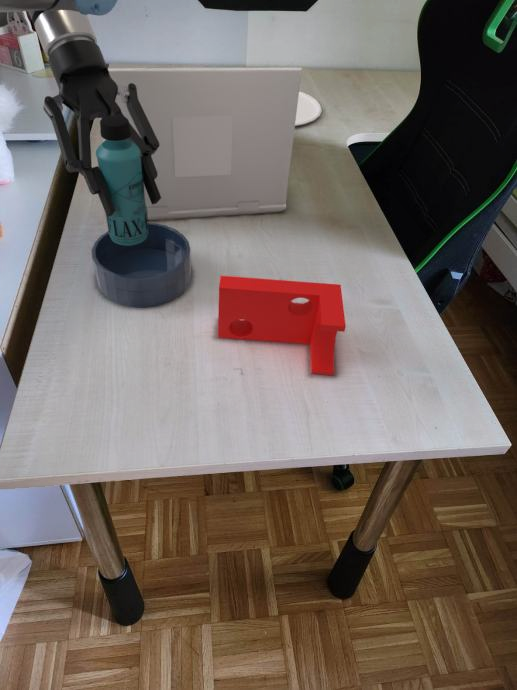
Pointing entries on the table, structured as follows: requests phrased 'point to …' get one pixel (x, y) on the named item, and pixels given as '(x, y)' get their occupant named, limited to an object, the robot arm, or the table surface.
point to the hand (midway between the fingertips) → (134, 207)
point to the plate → (307, 109)
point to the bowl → (143, 267)
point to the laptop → (217, 137)
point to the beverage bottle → (123, 181)
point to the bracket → (283, 315)
